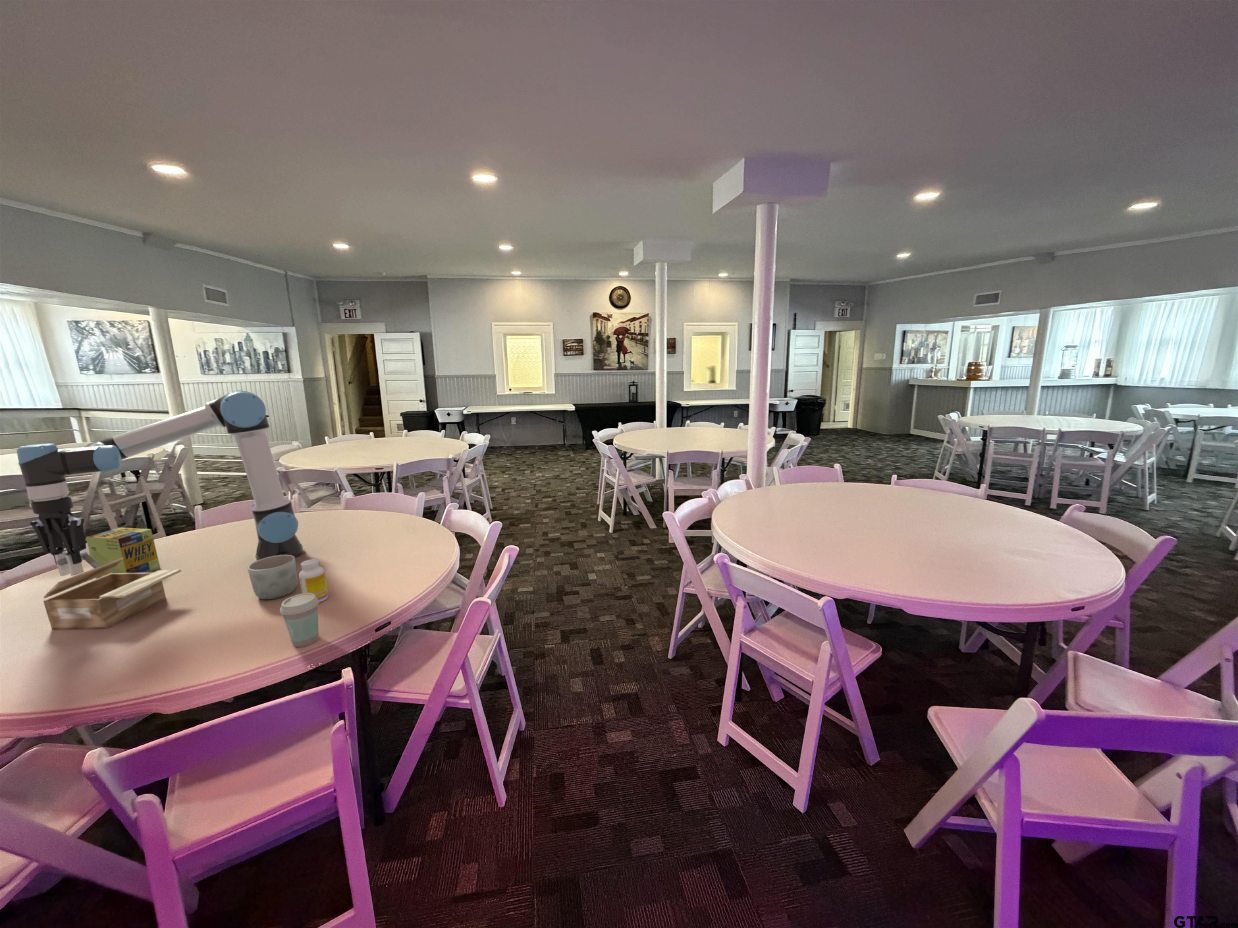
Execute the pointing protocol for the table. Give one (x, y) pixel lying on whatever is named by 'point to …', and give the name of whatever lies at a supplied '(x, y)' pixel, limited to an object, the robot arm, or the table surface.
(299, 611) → the coffee cup
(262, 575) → the planter
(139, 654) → the table surface
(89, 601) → the light wood open box
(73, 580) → the open flap
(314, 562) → the supplement bottle
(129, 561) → the protein box
